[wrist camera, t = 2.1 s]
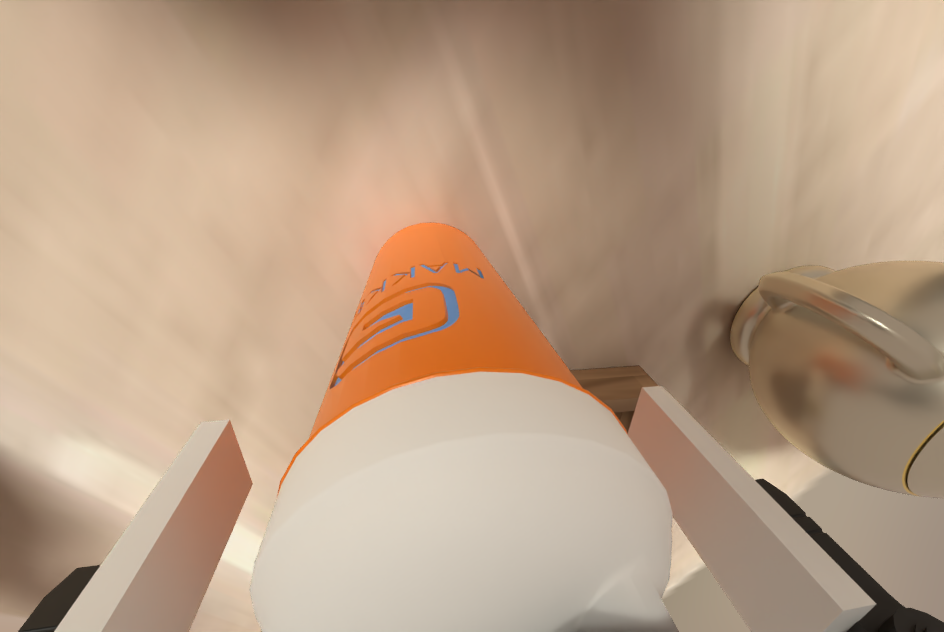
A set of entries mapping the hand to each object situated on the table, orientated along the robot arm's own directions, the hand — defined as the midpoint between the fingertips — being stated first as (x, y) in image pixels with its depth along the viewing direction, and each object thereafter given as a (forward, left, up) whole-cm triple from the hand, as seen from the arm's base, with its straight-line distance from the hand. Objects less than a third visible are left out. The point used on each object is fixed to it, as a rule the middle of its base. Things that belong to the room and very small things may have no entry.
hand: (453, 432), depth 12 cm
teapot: (+3, +26, -13) cm, 29 cm away
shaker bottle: (0, 0, -13) cm, 13 cm away
